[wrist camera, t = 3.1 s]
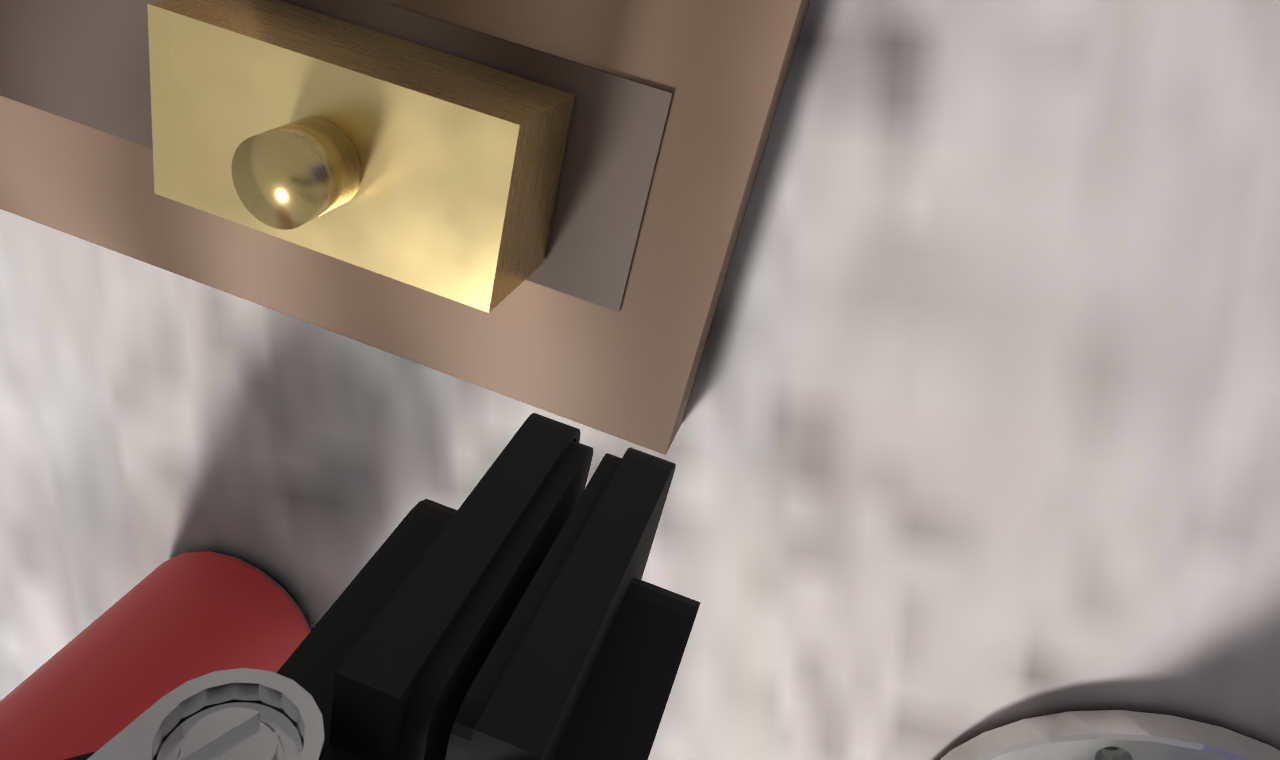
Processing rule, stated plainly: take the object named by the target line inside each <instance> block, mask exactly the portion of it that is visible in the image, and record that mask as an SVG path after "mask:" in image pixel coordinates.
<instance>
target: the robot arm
mask: <svg viewBox="0 0 1280 760" xmlns="http://www.w3.org/2000/svg"><path fill="white" fill-rule="evenodd" d="M579 440H580V430H579V429H577V428H575V427H572V426H569V425H566V424H563V423H561V422H558V421H555V420H552V419H550V418H547V417H544V416H541V415H538V414H536V413H533V414H531V415H530V416H529V417H528V418H527V420H526V421H525V422H524V424H523V425H522V426H521V427H520V429H519V430H518V431H517V433H516V434H515V435H514V437H513V438H512V439H511V441H510V442H509V443H508V445H507V446H506V447H505V449H504V450H503V451H502V453H501V454H500V455H499V457H498V458H497V459H496V461H495V462H494V463H493V464H492V466H491V467H490V468H489V470H488V471H487V472H486V474H485V475H484V476H483V478H482V479H481V480H480V482H479V483H478V484H477V486H476V487H475V488H474V490H473V491H472V492H471V494H470V495H469V496H468V497H467V499H466V500H465V501H464V503H463V504H462V505H461V507H460V508H459V509H458V511H457V510H455V509H452V508H449V507H447V506H444V505H441V504H439V503H436V502H434V501H431V500H428V499H425V500H423V501H420V502H419V503H418V504H417V505H416V506H415V507H414V508H413V509H412V510H411V511H410V512H409V513H408V515H407V516H406V517H405V518H404V519H403V521H402V522H401V523H400V524H399V525H398V527H397V528H396V529H395V530H394V531H393V533H392V534H391V535H390V536H389V537H388V539H387V540H386V541H385V542H384V543H383V545H382V546H381V547H380V548H379V550H378V551H377V552H376V553H375V554H374V556H373V557H372V558H371V559H370V560H369V562H368V563H367V564H366V565H365V566H364V568H363V569H362V570H361V571H360V572H359V574H358V575H357V576H356V577H355V578H354V580H353V581H352V582H351V583H350V585H349V586H348V587H347V588H346V589H345V591H344V592H343V593H342V594H341V595H340V597H339V598H338V599H337V600H336V601H335V603H334V604H333V605H332V606H331V607H330V609H329V610H328V611H327V612H326V613H325V615H324V616H323V617H322V618H321V619H320V621H319V622H318V623H317V624H316V626H315V627H314V628H313V629H312V630H311V632H310V633H309V634H308V635H307V636H306V638H305V639H304V640H303V641H302V642H301V644H300V645H299V646H298V647H297V648H296V650H295V651H294V652H293V653H292V654H291V656H290V657H289V658H288V659H287V661H286V662H285V663H284V664H283V665H282V667H281V668H280V669H279V670H278V671H277V673H274V672H272V671H267V670H258V669H249V668H238V669H230V670H221V671H214V672H212V673H209V674H206V675H203V676H200V677H198V678H195V679H192V680H189V681H187V682H185V683H184V684H182V685H180V686H179V687H177V688H176V689H174V690H173V691H171V692H169V693H168V694H166V695H165V696H163V697H162V698H161V699H159V700H158V701H157V702H156V703H154V704H153V705H152V706H151V707H150V708H148V709H147V710H146V711H145V712H144V713H142V714H141V715H140V716H139V717H138V718H136V719H135V720H134V721H133V722H132V723H130V724H129V725H128V726H127V727H125V728H124V729H123V730H122V731H121V732H119V733H118V734H117V735H116V736H115V737H113V738H112V739H111V740H110V741H109V742H107V743H106V744H105V745H104V746H103V747H101V748H100V749H99V750H98V751H95V752H91V753H87V754H83V755H79V756H75V757H71V758H67V759H63V760H648V757H649V754H650V751H651V748H652V745H653V742H654V739H655V736H656V733H657V730H658V727H659V724H660V721H661V718H662V715H663V712H664V709H665V706H666V703H667V701H668V698H669V695H670V692H671V689H672V686H673V683H674V680H675V677H676V674H677V671H678V668H679V665H680V662H681V659H682V656H683V653H684V650H685V647H686V644H687V641H688V638H689V635H690V632H691V629H692V626H693V623H694V620H695V617H696V614H697V611H698V608H699V605H700V602H698V601H695V600H692V599H690V598H687V597H684V596H682V595H679V594H676V593H674V592H671V591H669V590H666V589H663V588H661V587H658V586H655V585H653V584H650V583H647V582H645V581H642V580H641V579H642V576H643V572H644V569H645V566H646V563H647V559H648V556H649V553H650V550H651V546H652V543H653V540H654V536H655V533H656V530H657V527H658V523H659V520H660V517H661V514H662V510H663V507H664V504H665V501H666V497H667V494H668V491H669V488H670V484H671V481H672V478H673V474H674V471H675V466H676V464H674V463H672V462H669V461H666V460H663V459H661V458H658V457H655V456H652V455H649V454H647V453H644V452H641V451H638V450H636V449H633V448H628V449H627V451H626V453H625V454H624V456H623V458H619V457H616V456H614V455H611V454H608V453H607V454H605V456H604V457H603V459H602V461H601V462H600V464H599V466H598V468H597V469H596V471H595V473H594V474H593V476H592V478H591V480H590V481H589V483H588V485H587V487H586V488H585V485H586V481H587V477H588V473H589V469H590V465H591V461H592V456H593V448H591V447H589V446H586V445H583V444H580V443H579ZM584 489H585V490H584ZM940 760H1280V750H1278V749H1276V748H1274V747H1273V746H1271V745H1268V744H1265V743H1263V742H1260V741H1257V740H1255V739H1252V738H1250V737H1247V736H1244V735H1242V734H1239V733H1236V732H1234V731H1231V730H1228V729H1226V728H1223V727H1219V726H1215V725H1211V724H1206V723H1202V722H1198V721H1194V720H1189V719H1185V718H1181V717H1176V716H1172V715H1164V714H1154V713H1144V712H1134V711H1125V710H1100V711H1069V712H1063V713H1057V714H1051V715H1045V716H1039V717H1033V718H1027V719H1022V720H1019V721H1016V722H1013V723H1010V724H1007V725H1004V726H1001V727H998V728H995V729H992V730H989V731H986V732H983V733H982V734H980V735H978V736H976V737H974V738H972V739H971V740H969V741H967V742H965V743H963V744H961V745H960V746H958V747H956V748H954V749H952V750H951V751H949V752H948V753H947V754H946V755H945V756H944V757H942V758H941V759H940Z"/></svg>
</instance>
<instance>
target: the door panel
mask: <svg viewBox="0 0 1280 760" xmlns="http://www.w3.org/2000/svg"><path fill="white" fill-rule="evenodd" d="M162 1H169V0H0V209H3V210H5V211H8V212H11V213H13V214H16V215H19V216H22V217H24V218H27V219H30V220H32V221H35V222H38V223H40V224H43V225H46V226H49V227H51V228H54V229H57V230H59V231H62V232H65V233H67V234H70V235H73V236H76V237H78V238H81V239H84V240H86V241H89V242H92V243H94V244H97V245H100V246H103V247H105V248H108V249H111V250H113V251H116V252H119V253H121V254H124V255H127V256H130V257H132V258H135V259H138V260H140V261H143V262H146V263H148V264H151V265H154V266H157V267H159V268H162V269H165V270H167V271H170V272H173V273H175V274H178V275H181V276H184V277H186V278H189V279H192V280H194V281H197V282H200V283H203V284H205V285H208V286H211V287H213V288H216V289H219V290H221V291H224V292H227V293H230V294H232V295H235V296H238V297H240V298H243V299H246V300H248V301H251V302H254V303H257V304H259V305H262V306H265V307H267V308H270V309H273V310H275V311H278V312H281V313H284V314H286V315H289V316H292V317H294V318H297V319H300V320H302V321H305V322H308V323H311V324H313V325H316V326H319V327H321V328H324V329H327V330H329V331H332V332H335V333H338V334H340V335H343V336H346V337H348V338H351V339H354V340H356V341H359V342H362V343H365V344H367V345H370V346H373V347H375V348H378V349H381V350H383V351H386V352H389V353H392V354H394V355H397V356H400V357H402V358H405V359H408V360H410V361H413V362H416V363H419V364H421V365H424V366H427V367H429V368H432V369H435V370H438V371H440V372H443V373H446V374H448V375H451V376H454V377H456V378H459V379H462V380H465V381H467V382H470V383H473V384H475V385H478V386H481V387H483V388H486V389H489V390H492V391H494V392H497V393H500V394H502V395H505V396H508V397H510V398H513V399H516V400H519V401H521V402H524V403H527V404H529V405H532V406H535V407H537V408H540V409H543V410H546V411H548V412H551V413H554V414H556V415H559V416H562V417H564V418H567V419H570V420H573V421H575V422H578V423H581V424H583V425H586V426H589V427H591V428H594V429H597V430H600V431H602V432H605V433H608V434H610V435H613V436H616V437H618V438H621V439H624V440H627V441H629V442H632V443H635V444H637V445H640V446H643V447H646V448H648V449H651V450H654V451H656V452H659V453H662V454H664V455H666V453H667V451H668V449H669V447H670V445H671V443H672V441H673V439H674V437H675V435H676V434H677V432H678V430H679V428H680V426H681V422H682V419H683V416H684V413H685V409H686V406H687V403H688V399H689V396H690V393H691V390H692V386H693V383H694V380H695V376H696V373H697V370H698V366H699V363H700V360H701V357H702V353H703V350H704V347H705V343H706V340H707V337H708V333H709V330H710V327H711V324H712V320H713V317H714V314H715V310H716V307H717V304H718V300H719V297H720V294H721V291H722V287H723V284H724V281H725V277H726V274H727V271H728V268H729V264H730V261H731V258H732V254H733V251H734V248H735V244H736V241H737V238H738V235H739V231H740V228H741V225H742V221H743V218H744V215H745V211H746V208H747V205H748V202H749V198H750V195H751V192H752V188H753V185H754V182H755V178H756V175H757V172H758V169H759V165H760V162H761V159H762V155H763V152H764V149H765V146H766V142H767V139H768V136H769V132H770V129H771V126H772V122H773V119H774V116H775V113H776V109H777V106H778V103H779V99H780V96H781V93H782V89H783V86H784V83H785V80H786V76H787V73H788V70H789V66H790V63H791V60H792V56H793V53H794V50H795V47H796V43H797V40H798V37H799V33H800V30H801V27H802V24H803V20H804V17H805V14H806V10H807V7H808V4H809V0H280V1H283V2H286V3H290V4H293V5H296V6H299V7H302V8H305V9H308V10H312V11H315V12H318V13H321V14H324V15H327V16H330V17H334V18H337V19H340V20H343V21H346V22H349V23H352V24H356V25H359V26H362V27H365V28H368V29H371V30H374V31H377V32H381V33H384V34H387V35H390V36H393V37H396V38H399V39H403V40H406V41H409V42H412V43H415V44H418V45H421V46H425V47H428V48H431V49H434V50H437V51H440V52H443V53H447V54H450V55H453V56H456V57H459V58H462V59H465V60H469V61H472V62H475V63H478V64H481V65H484V66H487V67H491V68H494V69H497V70H500V71H503V72H506V73H509V74H513V75H516V76H519V77H522V78H525V79H528V80H531V81H535V82H538V83H541V84H544V85H547V86H550V87H553V88H557V89H560V90H563V91H566V92H569V93H572V94H575V100H574V105H573V111H572V116H571V121H570V126H569V131H568V137H567V142H566V147H565V152H564V157H563V163H562V168H561V173H560V178H559V183H558V189H557V194H556V199H555V204H554V209H553V215H552V220H551V225H550V230H549V236H548V241H547V246H546V251H545V256H544V262H543V264H542V265H541V266H540V267H539V268H538V269H537V270H536V271H534V272H533V273H532V274H531V275H530V276H529V277H528V278H527V279H526V280H525V281H523V282H522V283H521V284H520V285H519V286H518V287H517V288H516V289H515V290H514V291H512V292H511V293H510V294H509V295H508V296H507V297H506V298H505V299H504V300H503V301H501V302H500V303H499V304H498V305H497V306H496V307H495V308H494V309H493V310H492V311H490V312H489V313H487V312H485V311H482V310H479V309H476V308H473V307H471V306H468V305H465V304H462V303H459V302H457V301H454V300H451V299H448V298H445V297H443V296H440V295H437V294H434V293H432V292H429V291H426V290H423V289H420V288H418V287H415V286H412V285H409V284H406V283H404V282H401V281H398V280H395V279H392V278H390V277H387V276H384V275H381V274H378V273H376V272H373V271H370V270H367V269H364V268H362V267H359V266H356V265H353V264H350V263H348V262H345V261H342V260H339V259H337V258H334V257H331V256H328V255H325V254H323V253H320V252H317V251H314V250H311V249H309V248H306V247H303V246H300V245H297V244H295V243H292V242H289V241H286V240H283V239H281V238H278V237H275V236H272V235H269V234H267V233H264V232H261V231H258V230H255V229H253V228H250V227H247V226H244V225H242V224H239V223H236V222H233V221H230V220H228V219H225V218H222V217H219V216H216V215H214V214H211V213H208V212H205V211H202V210H200V209H197V208H194V207H191V206H188V205H186V204H183V203H180V202H177V201H174V200H172V199H169V198H166V197H163V196H160V195H158V194H155V192H154V166H153V140H152V114H151V87H150V61H149V35H148V9H147V4H149V3H155V2H162Z"/></svg>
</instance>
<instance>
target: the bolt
mask: <svg viewBox="0 0 1280 760" xmlns="http://www.w3.org/2000/svg"><path fill="white" fill-rule="evenodd" d="M147 9H148V35H149V61H150V87H151V114H152V140H153V166H154V192H155V194H158V195H160V196H163V197H166V198H169V199H172V200H174V201H177V202H180V203H183V204H186V205H188V206H191V207H194V208H197V209H200V210H202V211H205V212H208V213H211V214H214V215H216V216H219V217H222V218H225V219H228V220H230V221H233V222H236V223H239V224H242V225H244V226H247V227H250V228H253V229H255V230H258V231H261V232H264V233H267V234H269V235H272V236H275V237H278V238H281V239H283V240H286V241H289V242H292V243H295V244H297V245H300V246H303V247H306V248H309V249H311V250H314V251H317V252H320V253H323V254H325V255H328V256H331V257H334V258H337V259H339V260H342V261H345V262H348V263H350V264H353V265H356V266H359V267H362V268H364V269H367V270H370V271H373V272H376V273H378V274H381V275H384V276H387V277H390V278H392V279H395V280H398V281H401V282H404V283H406V284H409V285H412V286H415V287H418V288H420V289H423V290H426V291H429V292H432V293H434V294H437V295H440V296H443V297H445V298H448V299H451V300H454V301H457V302H459V303H462V304H465V305H468V306H471V307H473V308H476V309H479V310H482V311H485V312H487V313H489V312H490V311H492V310H493V309H494V308H495V307H496V306H497V305H498V304H499V303H500V302H501V301H503V300H504V299H505V298H506V297H507V296H508V295H509V294H510V293H511V292H512V291H514V290H515V289H516V288H517V287H518V286H519V285H520V284H521V283H522V282H523V281H525V280H526V279H527V278H528V277H529V276H530V275H531V274H532V273H533V272H534V271H536V270H537V269H538V268H539V267H540V266H541V265H542V264H543V262H544V256H545V251H546V246H547V241H548V236H549V230H550V225H551V220H552V215H553V209H554V204H555V199H556V194H557V189H558V183H559V178H560V173H561V168H562V163H563V157H564V152H565V147H566V142H567V137H568V131H569V126H570V121H571V116H572V111H573V105H574V100H575V94H572V93H569V92H566V91H563V90H560V89H557V88H553V87H550V86H547V85H544V84H541V83H538V82H535V81H531V80H528V79H525V78H522V77H519V76H516V75H513V74H509V73H506V72H503V71H500V70H497V69H494V68H491V67H487V66H484V65H481V64H478V63H475V62H472V61H469V60H465V59H462V58H459V57H456V56H453V55H450V54H447V53H443V52H440V51H437V50H434V49H431V48H428V47H425V46H421V45H418V44H415V43H412V42H409V41H406V40H403V39H399V38H396V37H393V36H390V35H387V34H384V33H381V32H377V31H374V30H371V29H368V28H365V27H362V26H359V25H356V24H352V23H349V22H346V21H343V20H340V19H337V18H334V17H330V16H327V15H324V14H321V13H318V12H315V11H312V10H308V9H305V8H302V7H299V6H296V5H293V4H290V3H286V2H283V1H280V0H169V1H162V2H155V3H149V4H147Z"/></svg>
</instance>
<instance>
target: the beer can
mask: <svg viewBox="0 0 1280 760" xmlns="http://www.w3.org/2000/svg"><path fill="white" fill-rule="evenodd" d="M310 632H311V629H310V627H309V625H308V623H307V621H306V619H305V617H304V615H303V613H302V611H301V609H300V607H299V606H298V605H297V604H296V602H295V601H294V600H293V599H292V597H291V596H290V595H289V594H288V593H287V591H286V590H285V589H284V588H283V587H282V586H281V585H280V584H278V583H277V582H276V581H275V580H273V579H272V578H271V577H270V576H268V575H267V574H266V573H265V572H263V571H262V570H260V569H259V568H257V567H255V566H253V565H251V564H249V563H247V562H245V561H243V560H241V559H239V558H237V557H233V556H229V555H225V554H221V553H217V552H212V551H203V552H188V553H182V554H179V555H177V556H175V557H173V558H172V559H170V560H168V561H166V562H164V563H162V564H161V565H160V566H159V567H158V568H156V569H155V570H154V571H153V572H152V573H151V574H149V575H148V576H147V577H146V578H145V579H144V580H142V581H141V582H140V583H139V584H138V585H136V586H135V587H134V588H133V589H132V590H131V591H129V592H128V593H127V594H126V595H125V596H124V597H122V598H121V599H120V600H119V601H118V602H116V603H115V604H114V605H113V606H112V607H111V608H109V609H108V610H107V611H106V612H105V613H104V614H102V615H101V616H100V617H99V618H98V619H97V620H95V621H94V622H93V623H92V624H91V625H89V626H88V627H87V628H86V629H85V630H84V631H82V632H81V633H80V634H79V635H78V636H77V637H75V638H74V639H73V640H72V641H71V642H69V643H68V644H67V645H66V646H65V647H64V648H62V649H61V650H60V651H59V652H58V653H57V654H55V655H54V656H53V657H52V658H51V659H49V660H48V661H47V662H46V663H45V664H44V665H42V666H41V667H40V668H39V669H38V670H37V671H35V672H34V673H33V674H32V675H31V676H29V677H28V678H27V679H26V680H25V681H24V682H22V683H21V684H20V685H19V686H18V687H17V688H15V689H14V690H13V691H12V692H11V693H10V694H8V695H7V696H6V697H5V698H4V699H2V700H1V701H0V760H63V759H67V758H71V757H75V756H79V755H83V754H87V753H91V752H95V751H98V750H99V749H100V748H101V747H103V746H104V745H105V744H106V743H107V742H109V741H110V740H111V739H112V738H113V737H115V736H116V735H117V734H118V733H119V732H121V731H122V730H123V729H124V728H125V727H127V726H128V725H129V724H130V723H132V722H133V721H134V720H135V719H136V718H138V717H139V716H140V715H141V714H142V713H144V712H145V711H146V710H147V709H148V708H150V707H151V706H152V705H153V704H154V703H156V702H157V701H158V700H159V699H161V698H162V697H163V696H165V695H166V694H168V693H169V692H171V691H173V690H174V689H176V688H177V687H179V686H180V685H182V684H184V683H185V682H187V681H189V680H192V679H195V678H198V677H200V676H203V675H206V674H209V673H212V672H214V671H221V670H230V669H238V668H249V669H258V670H267V671H272V672H274V673H277V671H278V670H279V669H280V668H281V667H282V665H283V664H284V663H285V662H286V661H287V659H288V658H289V657H290V656H291V654H292V653H293V652H294V651H295V650H296V648H297V647H298V646H299V645H300V644H301V642H302V641H303V640H304V639H305V638H306V636H307V635H308V634H309V633H310Z"/></svg>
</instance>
